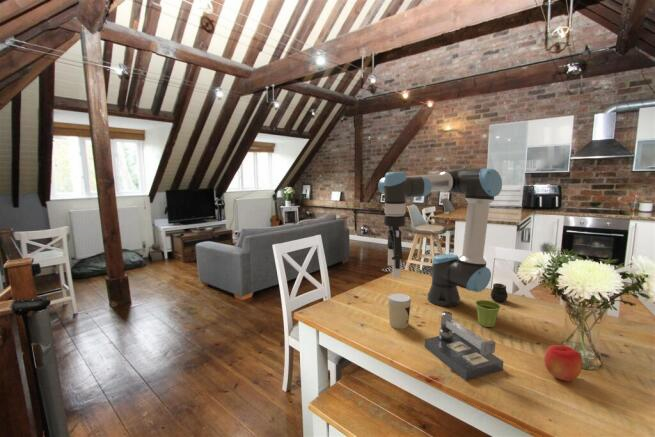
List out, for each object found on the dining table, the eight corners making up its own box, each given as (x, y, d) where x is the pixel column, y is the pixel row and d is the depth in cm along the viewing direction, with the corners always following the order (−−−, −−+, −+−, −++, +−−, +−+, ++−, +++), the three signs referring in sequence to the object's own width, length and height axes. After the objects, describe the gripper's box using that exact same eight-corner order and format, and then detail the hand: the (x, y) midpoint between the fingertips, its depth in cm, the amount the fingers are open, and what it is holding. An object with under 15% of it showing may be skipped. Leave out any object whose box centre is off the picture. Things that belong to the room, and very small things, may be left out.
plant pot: (470, 324, 129) (471, 305, 127) (477, 316, 135) (479, 298, 134) (495, 332, 122) (496, 311, 121) (501, 323, 129) (503, 304, 128)
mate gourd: (507, 299, 154) (508, 280, 152) (506, 305, 147) (508, 285, 146) (490, 296, 157) (492, 277, 156) (489, 302, 151) (491, 282, 149)
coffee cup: (411, 330, 124) (411, 302, 123) (387, 328, 126) (387, 300, 124) (409, 320, 133) (410, 293, 132) (387, 318, 135) (388, 292, 133)
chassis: (457, 338, 118) (457, 324, 117) (502, 369, 99) (504, 352, 98) (424, 346, 113) (424, 331, 112) (465, 380, 94) (467, 362, 93)
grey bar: (437, 327, 113) (438, 312, 113) (447, 325, 115) (448, 310, 114) (483, 359, 94) (484, 341, 93) (494, 356, 96) (495, 338, 95)
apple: (588, 384, 92) (592, 353, 91) (565, 391, 89) (568, 359, 88) (556, 365, 101) (559, 337, 100) (534, 370, 98) (537, 341, 97)
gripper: (380, 210, 125) (380, 261, 128) (388, 220, 100) (388, 282, 103) (399, 210, 124) (398, 261, 128) (412, 219, 100) (410, 282, 103)
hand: (393, 270), depth 115 cm, fingers open, 13 cm apart
